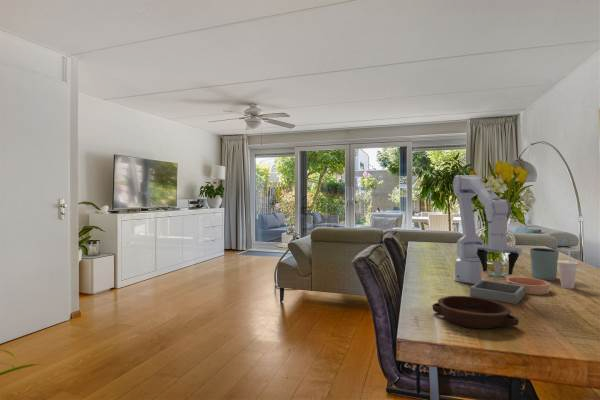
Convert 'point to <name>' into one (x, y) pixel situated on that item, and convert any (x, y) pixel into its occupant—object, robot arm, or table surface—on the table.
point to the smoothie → (567, 272)
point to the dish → (474, 312)
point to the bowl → (530, 284)
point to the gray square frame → (498, 291)
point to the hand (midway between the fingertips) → (497, 272)
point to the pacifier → (497, 271)
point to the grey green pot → (544, 263)
